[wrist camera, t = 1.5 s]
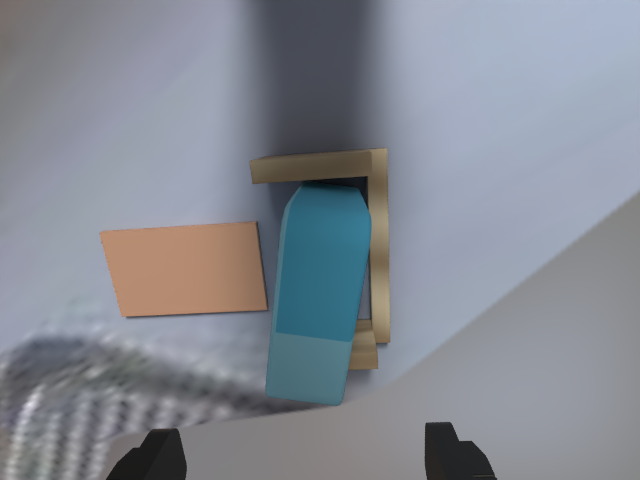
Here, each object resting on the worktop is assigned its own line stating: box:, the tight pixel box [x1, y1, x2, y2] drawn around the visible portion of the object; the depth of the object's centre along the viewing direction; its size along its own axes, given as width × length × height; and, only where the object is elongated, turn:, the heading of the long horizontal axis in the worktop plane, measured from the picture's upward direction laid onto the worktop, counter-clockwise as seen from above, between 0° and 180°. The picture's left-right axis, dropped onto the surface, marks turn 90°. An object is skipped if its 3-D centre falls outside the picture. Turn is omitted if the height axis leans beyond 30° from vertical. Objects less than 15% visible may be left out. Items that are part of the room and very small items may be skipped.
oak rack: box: [250, 148, 390, 370], centre depth 27 cm, size 16×10×5 cm, turn 4°
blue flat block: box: [266, 181, 372, 406], centre depth 24 cm, size 12×4×12 cm, turn 173°
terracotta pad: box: [100, 221, 268, 317], centre depth 30 cm, size 8×14×1 cm, turn 94°
